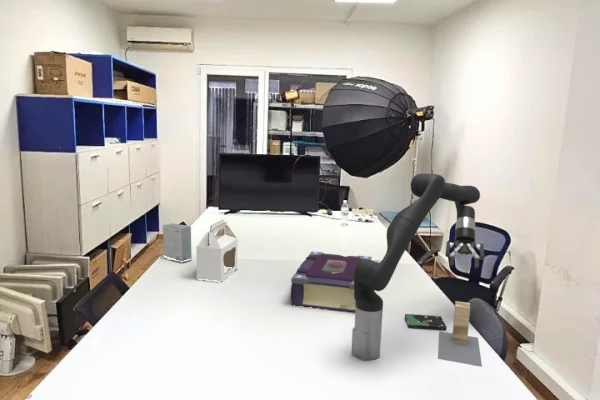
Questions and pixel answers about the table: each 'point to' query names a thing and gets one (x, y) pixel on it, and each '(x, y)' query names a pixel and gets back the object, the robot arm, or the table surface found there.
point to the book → (326, 282)
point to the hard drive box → (177, 241)
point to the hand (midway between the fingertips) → (464, 267)
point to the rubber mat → (459, 350)
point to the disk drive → (425, 322)
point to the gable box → (217, 253)
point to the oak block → (461, 322)
